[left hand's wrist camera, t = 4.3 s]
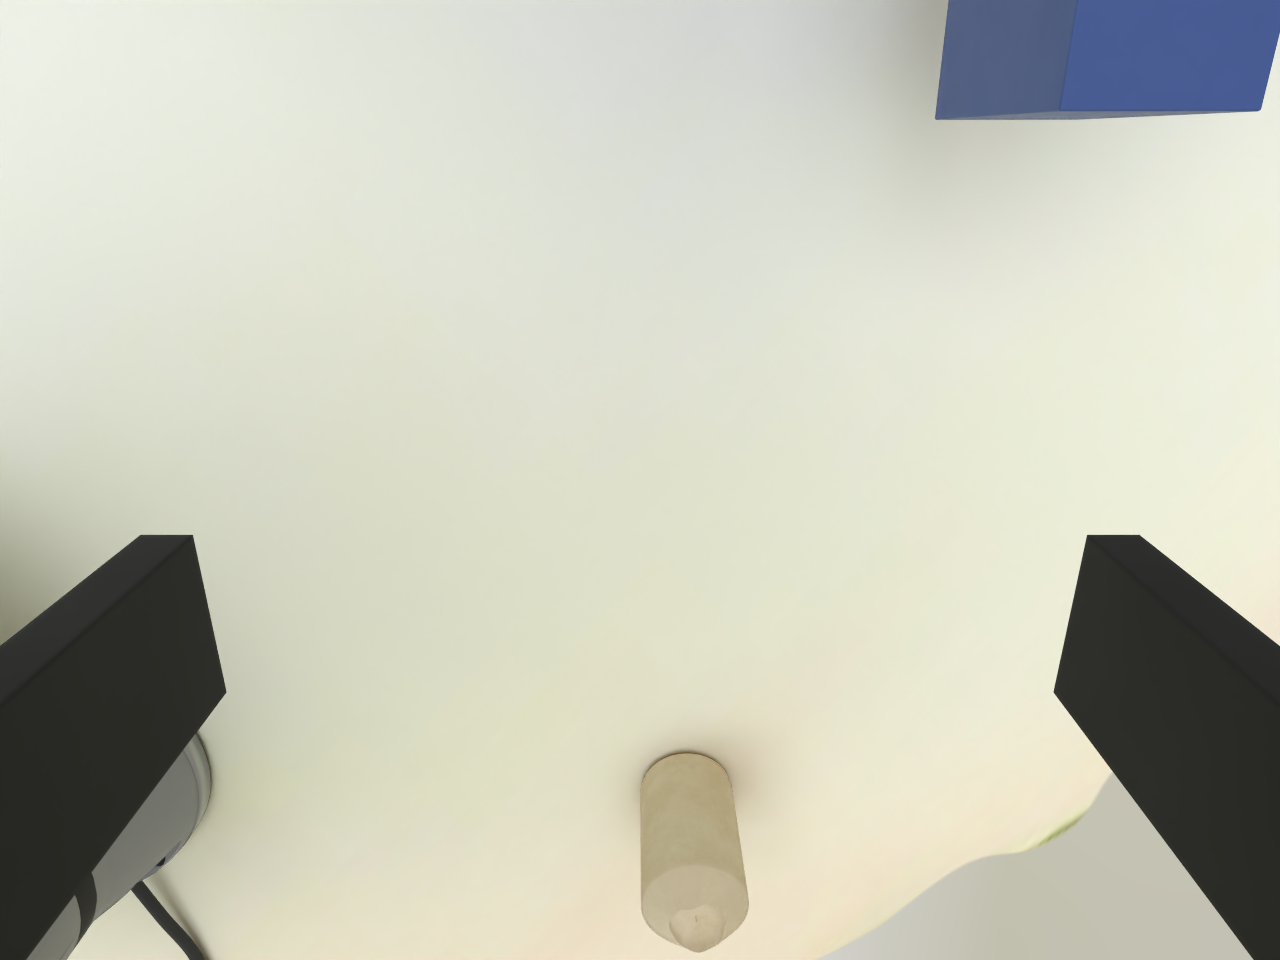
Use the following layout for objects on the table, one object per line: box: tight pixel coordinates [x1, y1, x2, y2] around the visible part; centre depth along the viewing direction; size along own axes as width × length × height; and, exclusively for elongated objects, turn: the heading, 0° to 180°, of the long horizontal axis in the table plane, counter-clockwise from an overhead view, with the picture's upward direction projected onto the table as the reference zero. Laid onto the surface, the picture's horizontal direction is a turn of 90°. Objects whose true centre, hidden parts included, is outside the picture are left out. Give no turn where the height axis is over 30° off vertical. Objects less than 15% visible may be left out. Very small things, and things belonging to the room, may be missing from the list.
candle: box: [640, 753, 749, 952], centre depth 47 cm, size 6×6×10 cm
